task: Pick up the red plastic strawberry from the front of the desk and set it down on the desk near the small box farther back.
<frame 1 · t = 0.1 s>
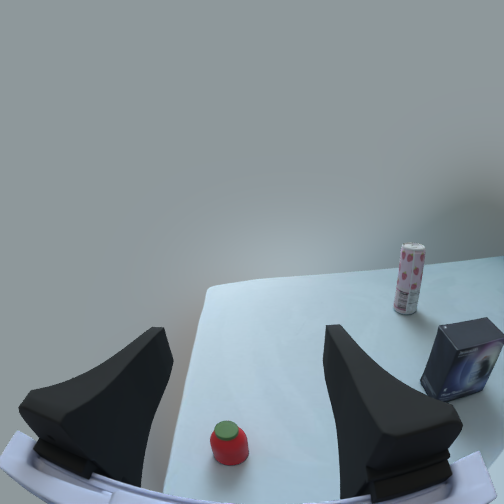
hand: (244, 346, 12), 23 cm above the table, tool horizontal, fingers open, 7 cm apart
beverage can: (404, 309, 57), on the table
small box: (451, 387, 31), on the table
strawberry: (231, 452, 27), on the table
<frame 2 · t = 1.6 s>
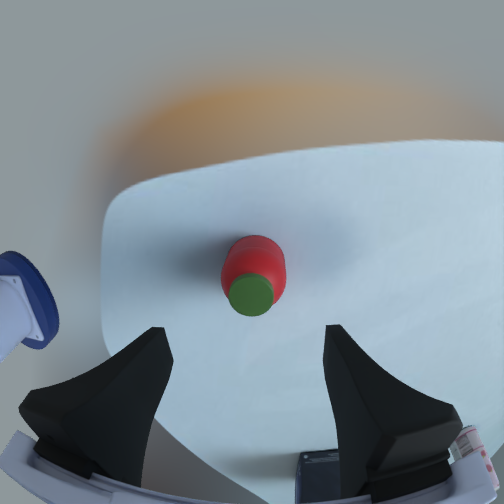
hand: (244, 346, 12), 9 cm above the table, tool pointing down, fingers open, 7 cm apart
beverage can: (461, 434, 30), on the table
small box: (317, 464, 32), on the table
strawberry: (255, 262, 21), on the table
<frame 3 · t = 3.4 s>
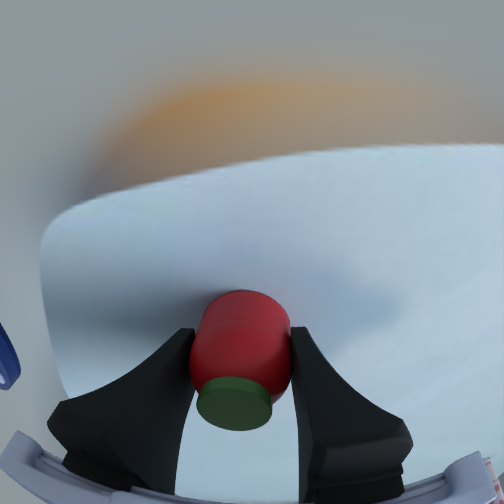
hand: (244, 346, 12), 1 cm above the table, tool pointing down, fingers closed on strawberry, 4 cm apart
beverage can: (474, 466, 23), on the table
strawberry: (245, 328, 13), on the table, touching gripper
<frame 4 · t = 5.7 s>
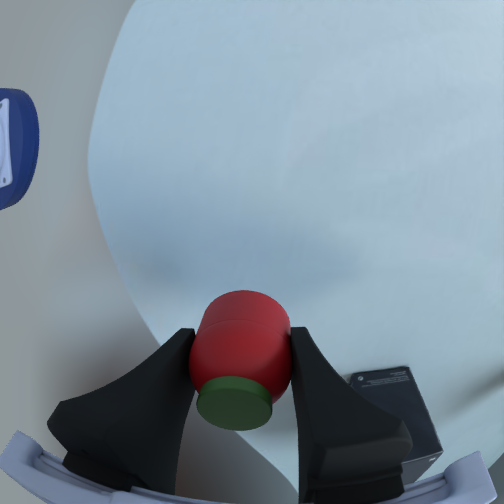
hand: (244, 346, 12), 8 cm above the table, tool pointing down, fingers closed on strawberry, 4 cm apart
small box: (368, 401, 25), on the table
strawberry: (246, 327, 13), point 7 cm above the table, touching gripper
when the fingers open (1 cm above the table, at t = 8.2 s): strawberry stays where it is, on the table.
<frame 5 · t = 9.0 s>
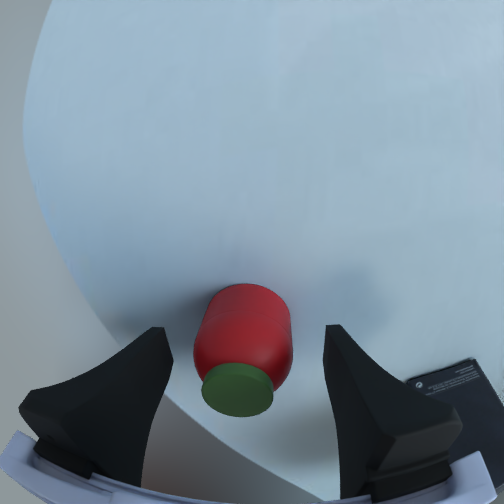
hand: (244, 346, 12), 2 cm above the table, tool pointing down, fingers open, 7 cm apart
small box: (424, 409, 17), on the table
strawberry: (247, 320, 14), on the table
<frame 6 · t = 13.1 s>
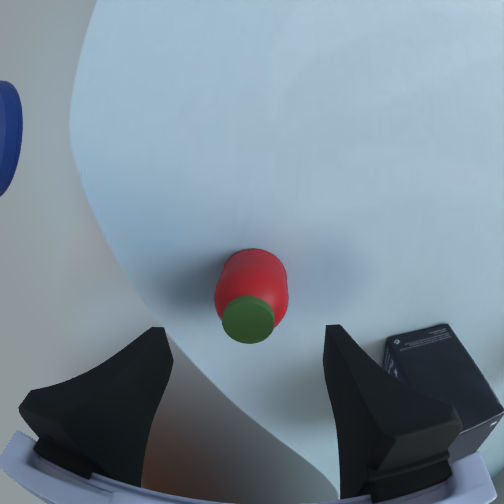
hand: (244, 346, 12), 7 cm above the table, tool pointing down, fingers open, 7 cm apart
small box: (407, 372, 21), on the table
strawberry: (254, 278, 18), on the table
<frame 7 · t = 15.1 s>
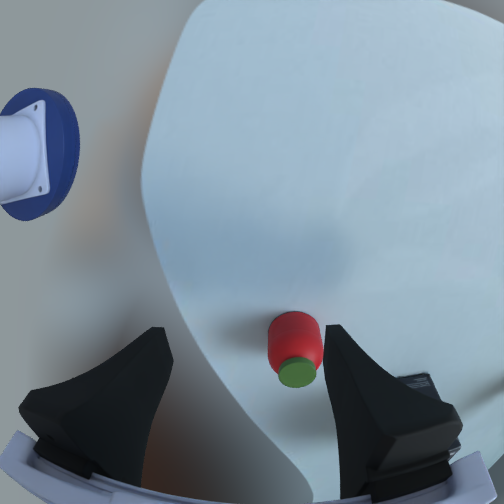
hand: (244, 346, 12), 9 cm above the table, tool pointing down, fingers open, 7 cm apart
small box: (390, 405, 26), on the table
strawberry: (293, 332, 23), on the table
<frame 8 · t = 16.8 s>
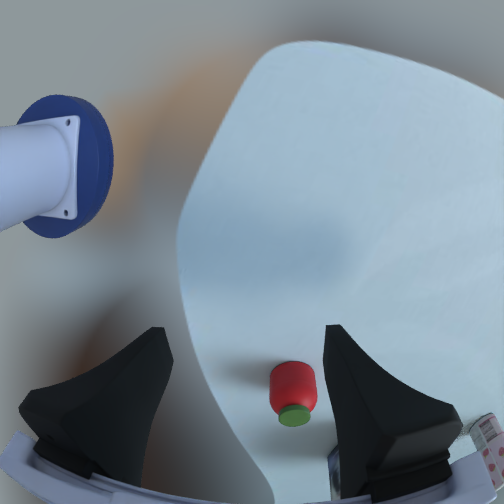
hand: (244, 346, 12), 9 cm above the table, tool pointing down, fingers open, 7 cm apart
beverage can: (481, 422, 29), on the table
small box: (359, 438, 29), on the table
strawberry: (292, 376, 25), on the table
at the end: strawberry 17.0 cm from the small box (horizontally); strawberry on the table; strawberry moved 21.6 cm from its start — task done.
